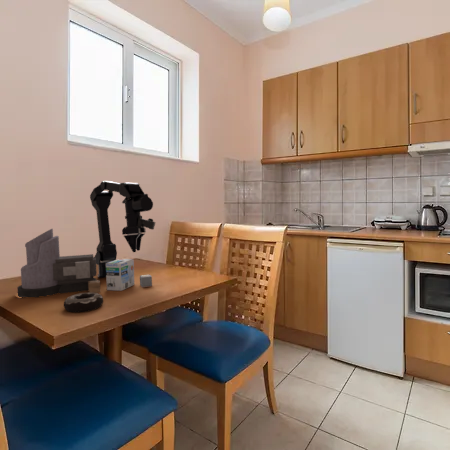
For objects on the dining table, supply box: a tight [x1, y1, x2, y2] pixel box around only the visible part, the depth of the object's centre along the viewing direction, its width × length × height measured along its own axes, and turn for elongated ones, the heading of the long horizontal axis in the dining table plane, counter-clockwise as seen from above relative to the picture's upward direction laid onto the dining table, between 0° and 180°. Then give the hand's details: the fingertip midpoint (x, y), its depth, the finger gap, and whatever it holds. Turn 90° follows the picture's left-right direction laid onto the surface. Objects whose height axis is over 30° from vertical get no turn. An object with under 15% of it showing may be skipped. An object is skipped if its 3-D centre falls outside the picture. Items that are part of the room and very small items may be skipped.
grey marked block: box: [139, 274, 153, 288], centre depth 130 cm, size 4×4×4 cm
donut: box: [63, 291, 104, 313], centre depth 103 cm, size 12×12×4 cm
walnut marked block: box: [88, 279, 101, 294], centre depth 122 cm, size 4×4×4 cm
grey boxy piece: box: [17, 228, 97, 298], centre depth 125 cm, size 30×16×24 cm, turn 111°
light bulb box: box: [105, 258, 135, 292], centre depth 128 cm, size 11×7×11 cm, turn 168°
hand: (136, 251), depth 131 cm, fingers open, 9 cm apart
